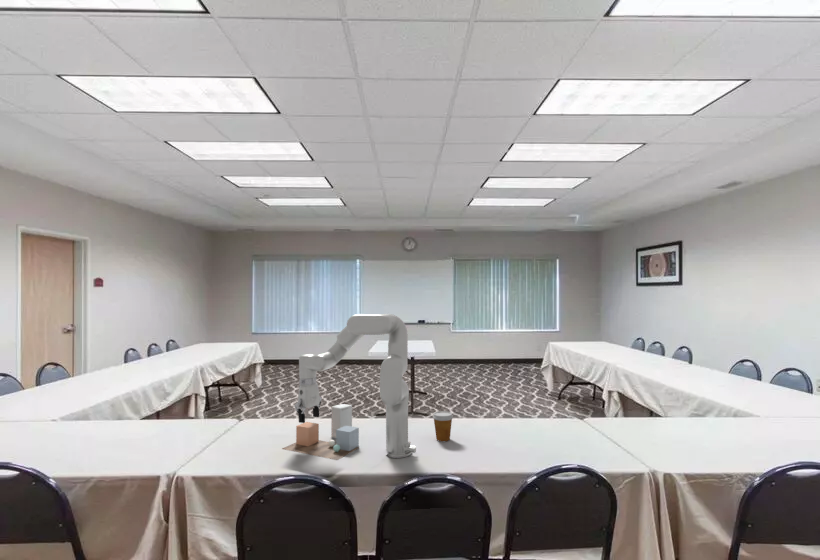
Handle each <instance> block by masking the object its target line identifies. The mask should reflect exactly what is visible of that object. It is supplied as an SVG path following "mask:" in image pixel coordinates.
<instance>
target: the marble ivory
mask: <svg viewBox="0 0 820 560" xmlns="http://www.w3.org/2000/svg"><path fill="white" fill-rule="evenodd" d="M327 442H328V445H329V446H330V447H333V446H334V445H335V443H336V440H334V439H329V441H327Z"/></svg>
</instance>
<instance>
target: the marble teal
mask: <svg viewBox="0 0 820 560" xmlns="http://www.w3.org/2000/svg"><path fill="white" fill-rule="evenodd" d="M333 450H334V451H335V452H338V451H340V446H339V445H335V446H334V447H333Z"/></svg>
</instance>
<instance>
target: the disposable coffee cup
mask: <svg viewBox="0 0 820 560" xmlns="http://www.w3.org/2000/svg"><path fill="white" fill-rule="evenodd" d="M453 417H454V415H453V414H452V412H450V411H442V410H439V411H436V412H435V411H434V412H433V415H432V418H433V421H434V422H433V423H434V431H435V438H436V439H437V440H436V441H438V440H439V442H443V441H445V442H449V441H450V440H451V439H450V438H451V430H452V422H453V421H452V420H453ZM448 440H449V441H448Z"/></svg>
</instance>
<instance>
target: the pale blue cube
mask: <svg viewBox="0 0 820 560" xmlns="http://www.w3.org/2000/svg"><path fill="white" fill-rule="evenodd" d="M359 428H360V427H358V426H352V427H351V426H344V427H342V428H339V429H337V430H336V438H335V443H336V445H339V446H340V449H341V450H346V451H351V450H352V449H354V448H356V447H359V446H360V445H359V444H360V439H359V438H360V436H359V435H360V433H359V432H360V429H359Z"/></svg>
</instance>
